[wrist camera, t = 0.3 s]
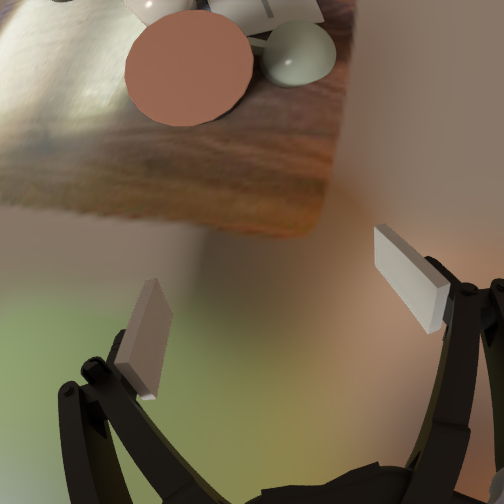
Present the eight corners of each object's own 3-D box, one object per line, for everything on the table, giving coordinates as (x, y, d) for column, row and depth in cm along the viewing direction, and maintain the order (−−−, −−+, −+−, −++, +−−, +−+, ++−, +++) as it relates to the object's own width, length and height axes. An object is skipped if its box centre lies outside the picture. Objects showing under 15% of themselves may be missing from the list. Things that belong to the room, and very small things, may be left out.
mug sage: (319, 47, 33) (341, 32, 25) (308, 94, 36) (328, 90, 28) (250, 29, 31) (255, 8, 23) (238, 78, 35) (240, 67, 27)
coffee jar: (164, 58, 32) (121, 23, 16) (240, 48, 33) (249, 2, 17) (171, 127, 37) (129, 137, 21) (246, 118, 37) (259, 119, 21)
